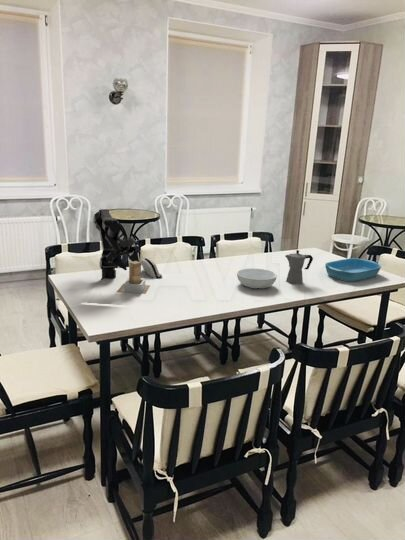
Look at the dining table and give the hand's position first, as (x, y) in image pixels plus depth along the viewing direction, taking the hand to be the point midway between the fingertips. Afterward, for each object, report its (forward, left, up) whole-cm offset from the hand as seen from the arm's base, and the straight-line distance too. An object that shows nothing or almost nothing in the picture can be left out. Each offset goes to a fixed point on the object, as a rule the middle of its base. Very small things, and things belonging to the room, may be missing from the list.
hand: (132, 267), depth 214 cm
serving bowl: (+61, +22, -12) cm, 66 cm away
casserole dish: (+120, +54, -13) cm, 132 cm away
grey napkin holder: (+3, +30, -12) cm, 33 cm away
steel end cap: (+1, -1, -11) cm, 11 cm away
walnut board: (0, +1, -12) cm, 12 cm away
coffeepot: (+84, +34, -12) cm, 92 cm away
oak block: (+1, -1, -10) cm, 10 cm away
